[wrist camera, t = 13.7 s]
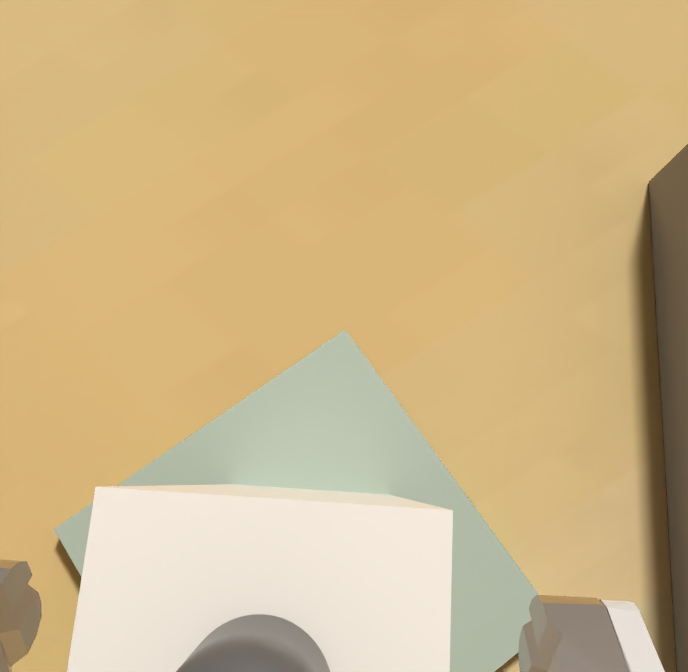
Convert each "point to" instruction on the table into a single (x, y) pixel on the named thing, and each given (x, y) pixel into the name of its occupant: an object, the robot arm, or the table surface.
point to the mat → (349, 481)
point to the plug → (263, 581)
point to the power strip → (674, 368)
